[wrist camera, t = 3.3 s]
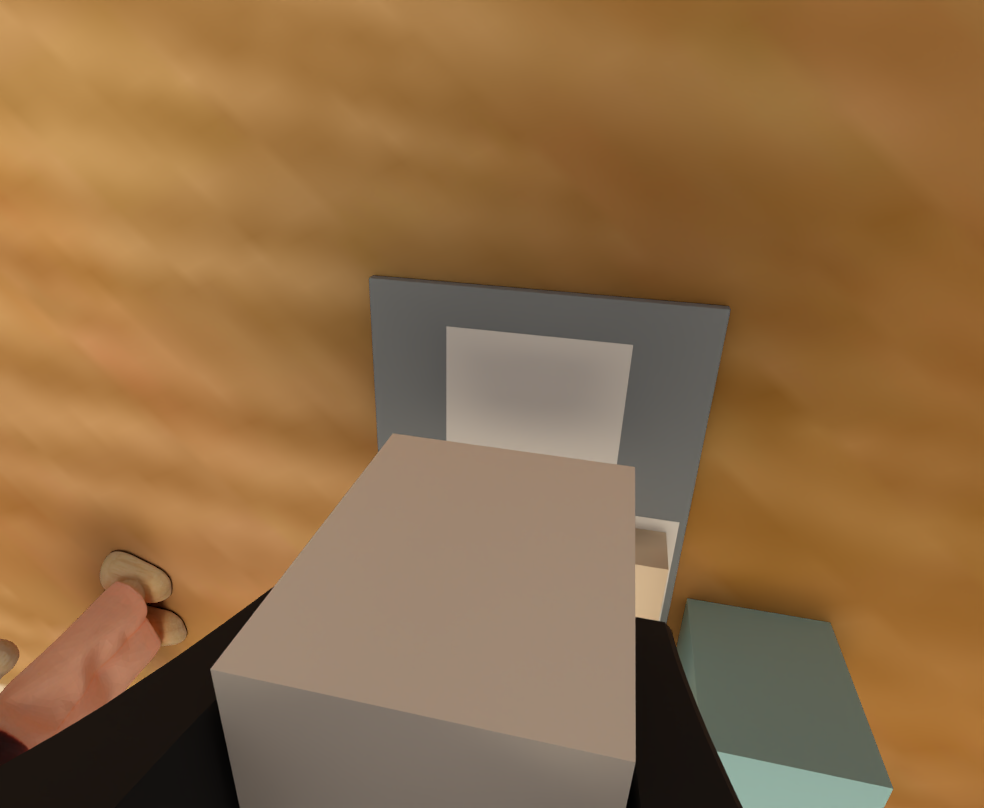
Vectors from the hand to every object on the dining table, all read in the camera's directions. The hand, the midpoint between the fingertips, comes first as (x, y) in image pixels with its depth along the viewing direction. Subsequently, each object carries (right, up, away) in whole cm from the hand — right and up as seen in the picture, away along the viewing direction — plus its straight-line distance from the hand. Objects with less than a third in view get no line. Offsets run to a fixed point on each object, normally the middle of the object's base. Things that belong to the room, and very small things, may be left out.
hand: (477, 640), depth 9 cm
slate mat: (+1, 0, +9) cm, 9 cm away
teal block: (+8, -4, +10) cm, 13 cm away
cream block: (0, +1, +2) cm, 2 cm away
